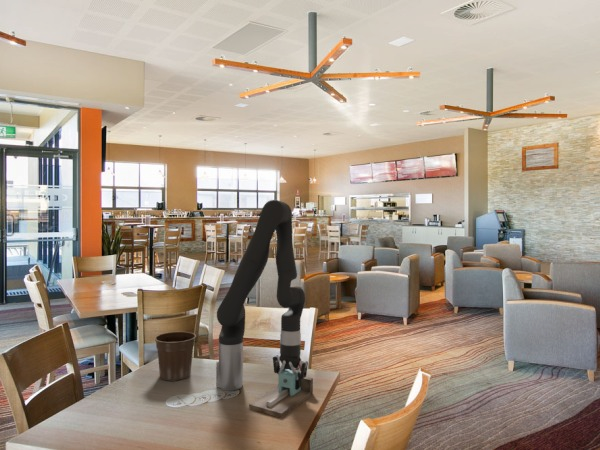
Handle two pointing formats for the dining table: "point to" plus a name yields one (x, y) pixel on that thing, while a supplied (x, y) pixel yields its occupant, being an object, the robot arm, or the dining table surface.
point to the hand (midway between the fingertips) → (289, 386)
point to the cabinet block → (287, 382)
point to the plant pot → (175, 354)
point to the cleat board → (282, 399)
